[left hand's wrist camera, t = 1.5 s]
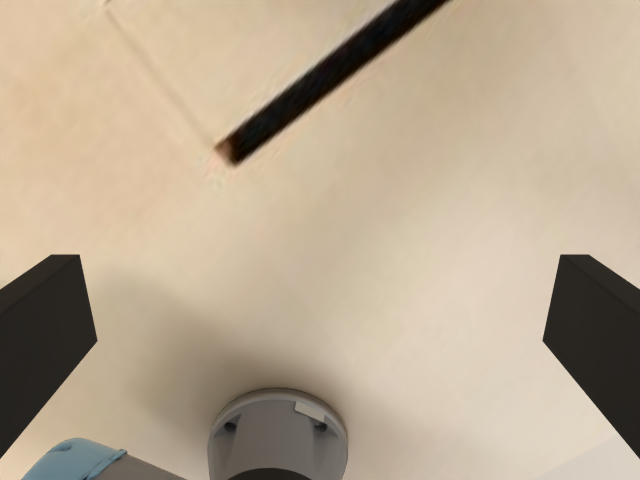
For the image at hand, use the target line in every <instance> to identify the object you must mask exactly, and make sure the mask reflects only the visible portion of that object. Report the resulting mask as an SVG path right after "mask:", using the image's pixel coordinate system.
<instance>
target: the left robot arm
mask: <svg viewBox="0 0 640 480" xmlns="http://www.w3.org/2000/svg"><path fill="white" fill-rule="evenodd" d="M96 342H97V336H96V331H95V326H94V322H93V317H92V312H91V307H90V303H89V298H88V293H87V288H86V283H85V279H84V274H83V269H82V264H81V260H80V255H50V256H49V257H47V258H46V259H44V260H43V261H41V262H40V263H38V264H37V265H35V266H34V267H33V268H31V269H30V270H28V271H27V272H25V273H24V274H22V275H21V276H19V277H18V278H16V279H15V280H14V281H12V282H11V283H9V284H8V285H6V286H5V287H3V288H2V289H0V459H1V457H2V456H3V455H4V454H5V453H6V451H7V450H8V449H9V448H10V446H11V445H12V444H13V443H14V442H15V440H16V439H17V438H18V437H19V436H20V434H21V433H22V432H23V431H24V429H25V428H26V427H27V426H28V425H29V423H30V422H31V421H32V420H33V419H34V417H35V416H36V415H37V414H38V412H39V411H40V410H41V409H42V408H43V406H44V405H45V404H46V403H47V402H48V400H49V399H50V398H51V397H52V395H53V394H54V393H55V392H56V391H57V389H58V388H59V387H60V386H61V385H62V383H63V382H64V381H65V380H66V378H67V377H68V376H69V375H70V374H71V372H72V371H73V370H74V369H75V368H76V366H77V365H78V364H79V363H80V361H81V360H82V359H83V358H84V357H85V355H86V354H87V353H88V352H89V351H90V349H91V348H92V347H93V346H94V344H95V343H96ZM543 342H544V343H545V344H546V346H547V347H548V348H549V349H550V351H551V352H552V353H553V354H554V355H555V357H556V358H557V359H558V360H559V361H560V363H561V364H562V365H563V366H564V368H565V369H566V370H567V371H568V372H569V374H570V375H571V376H572V377H573V378H574V380H575V381H576V382H577V383H578V385H579V386H580V387H581V388H582V389H583V391H584V392H585V393H586V394H587V395H588V397H589V398H590V399H591V400H592V402H593V403H594V404H595V405H596V406H597V408H598V409H599V410H600V411H601V412H602V414H603V415H604V416H605V417H606V419H607V420H608V421H609V422H610V423H611V425H612V426H613V427H614V428H615V429H616V431H617V432H618V433H619V434H620V436H621V437H622V438H623V439H624V440H625V442H626V443H627V444H628V445H629V446H630V448H631V449H632V450H633V451H634V452H635V454H636V455H637V456H638V457H639V459H640V289H638V288H637V287H635V286H634V285H632V284H631V283H629V282H628V281H626V280H625V279H624V278H622V277H621V276H619V275H618V274H616V273H615V272H613V271H612V270H610V269H609V268H607V267H606V266H605V265H603V264H602V263H600V262H599V261H597V260H596V259H594V258H593V257H591V256H590V255H560V260H559V264H558V269H557V274H556V279H555V283H554V288H553V293H552V298H551V303H550V307H549V312H548V317H547V322H546V326H545V331H544V336H543ZM127 453H128V451H126V450H124V449H120V450H115V449H113V448H110V447H107V446H104V445H102V444H99V443H96V442H93V441H91V440H88V439H84V438H72V439H68V440H66V441H63V442H61V443H59V444H58V445H56V446H55V447H53V448H52V449H51V450H50V451H48V452H47V453H46V454H45V455H44V456H43V457H42V458H41V459H40V460H39V461H38V462H37V463H36V464H35V465H34V466H33V467H32V468H31V469H30V470H29V471H28V472H27V473H26V474H25V475H24V477H23V478H22V479H21V480H186V479H184V478H182V477H179V476H177V475H175V474H172V473H170V472H168V471H165V470H163V469H161V468H158V467H156V466H154V465H151V464H149V463H147V462H144V461H142V460H140V459H137V458H135V457H133V456H130V455H128V454H127ZM347 459H348V449H347V437H346V432H345V429H344V426H343V424H342V422H341V420H340V418H339V417H338V416H337V414H336V413H335V412H334V411H333V410H332V409H331V408H330V407H329V406H328V405H326V404H325V403H324V402H322V401H321V400H319V399H317V398H315V397H313V396H311V395H309V394H306V393H303V392H300V391H296V390H291V389H282V388H272V389H262V390H258V391H254V392H250V393H248V394H245V395H243V396H241V397H239V398H237V399H235V400H234V401H232V402H231V403H230V404H228V405H227V406H226V407H225V408H224V409H223V410H222V411H221V413H220V414H219V415H218V417H217V418H216V420H215V423H214V425H213V428H212V431H211V435H210V438H209V442H208V465H209V475H210V480H342V478H343V475H344V471H345V468H346V464H347Z"/></svg>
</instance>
